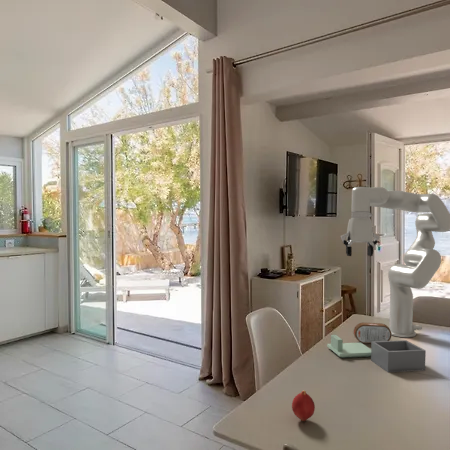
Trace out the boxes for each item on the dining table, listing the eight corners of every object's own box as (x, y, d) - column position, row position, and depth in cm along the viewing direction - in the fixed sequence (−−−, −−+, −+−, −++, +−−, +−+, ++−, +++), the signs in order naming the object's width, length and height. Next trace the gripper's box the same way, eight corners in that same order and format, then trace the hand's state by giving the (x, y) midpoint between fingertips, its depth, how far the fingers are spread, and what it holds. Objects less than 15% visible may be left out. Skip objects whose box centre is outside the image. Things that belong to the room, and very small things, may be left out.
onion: (289, 415, 104) (289, 385, 104) (310, 414, 104) (311, 385, 104) (295, 427, 98) (295, 395, 98) (317, 426, 98) (318, 395, 98)
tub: (405, 358, 146) (406, 340, 146) (425, 370, 136) (425, 350, 135) (371, 360, 144) (371, 341, 144) (387, 372, 133) (388, 352, 133)
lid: (360, 347, 159) (360, 331, 159) (375, 358, 148) (375, 340, 147) (326, 349, 157) (327, 332, 156) (339, 359, 145) (339, 342, 145)
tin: (389, 342, 165) (390, 323, 165) (392, 345, 162) (392, 325, 162) (353, 341, 167) (353, 321, 166) (354, 343, 163) (355, 323, 163)
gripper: (374, 216, 172) (373, 254, 173) (337, 215, 170) (336, 254, 170) (384, 216, 165) (383, 256, 165) (345, 215, 162) (344, 256, 163)
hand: (359, 255), depth 168 cm, fingers open, 9 cm apart
